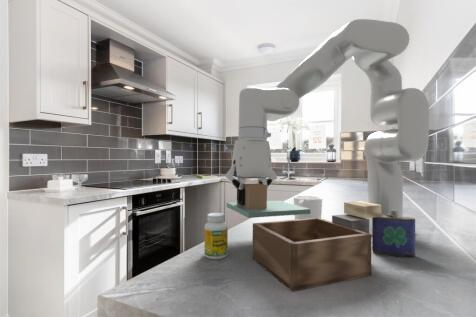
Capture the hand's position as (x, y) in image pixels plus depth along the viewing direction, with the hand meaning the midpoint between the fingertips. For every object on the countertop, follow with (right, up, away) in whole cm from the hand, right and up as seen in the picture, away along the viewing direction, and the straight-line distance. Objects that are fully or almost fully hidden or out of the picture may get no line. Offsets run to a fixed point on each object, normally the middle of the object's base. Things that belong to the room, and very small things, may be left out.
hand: (251, 203), depth 71 cm
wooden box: (+13, -11, -14) cm, 22 cm away
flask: (+34, -11, -7) cm, 36 cm away
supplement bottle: (-9, -11, -9) cm, 16 cm away
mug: (+18, -11, +15) cm, 26 cm away
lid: (+4, -2, +2) cm, 5 cm away
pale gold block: (+25, -1, -9) cm, 27 cm away
